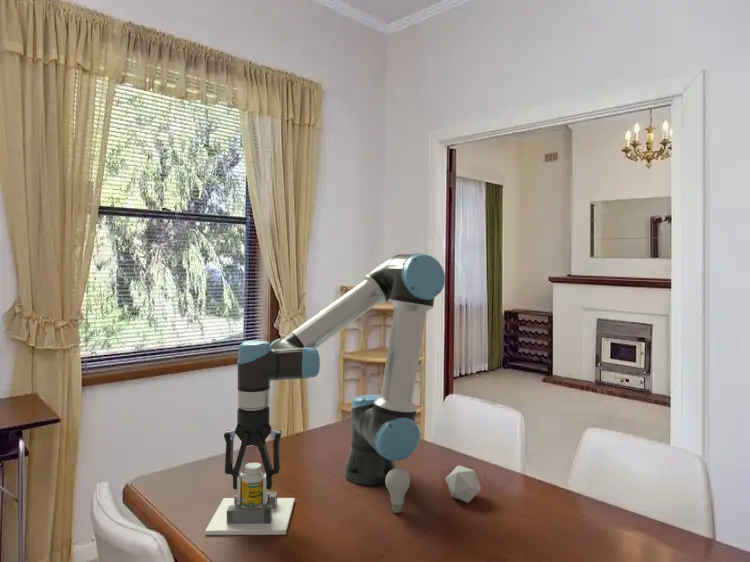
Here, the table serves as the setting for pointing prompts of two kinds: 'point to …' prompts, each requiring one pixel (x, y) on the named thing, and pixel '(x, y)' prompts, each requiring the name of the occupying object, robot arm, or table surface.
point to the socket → (252, 517)
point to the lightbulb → (397, 487)
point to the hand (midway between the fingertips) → (252, 501)
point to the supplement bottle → (252, 486)
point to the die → (463, 483)
